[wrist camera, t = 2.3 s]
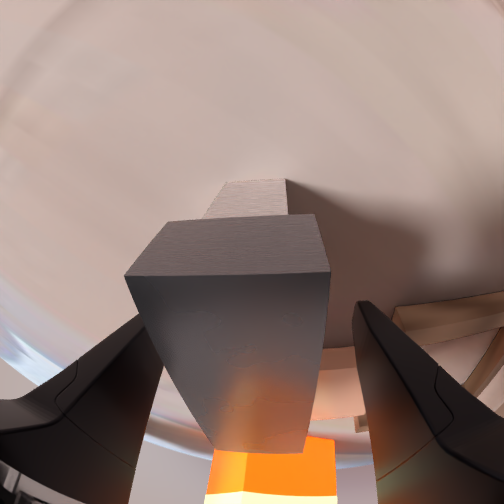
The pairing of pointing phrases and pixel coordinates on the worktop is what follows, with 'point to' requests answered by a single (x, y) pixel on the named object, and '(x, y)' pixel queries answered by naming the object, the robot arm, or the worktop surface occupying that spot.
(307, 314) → the grey block
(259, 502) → the orange juice
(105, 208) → the worktop surface
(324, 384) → the tile
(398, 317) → the bay
